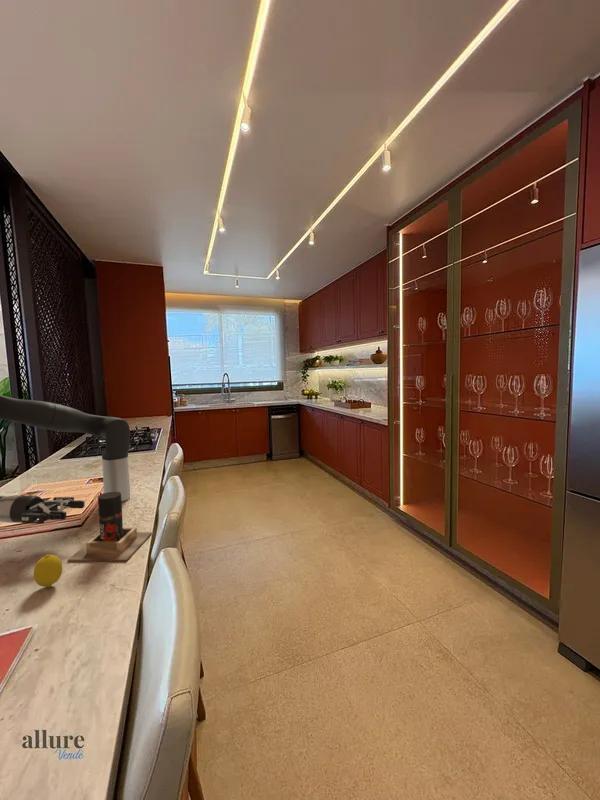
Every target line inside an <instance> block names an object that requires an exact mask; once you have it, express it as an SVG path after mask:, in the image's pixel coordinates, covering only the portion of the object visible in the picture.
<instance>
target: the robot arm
mask: <svg viewBox="0 0 600 800" xmlns="http://www.w3.org/2000/svg"><path fill="white" fill-rule="evenodd" d="M0 420H6V421H11V422H15V423H18V424H23V425H26V426H29V427H34V428H35V427H36V428H38V429H43V430H49V431H54V432H55V431H56V432H65V433H84V434H88V435H91V436H95V437H98V438H101V439H104V440H105V449H103V451H102V452H101V462H102V465H101V466H102V483H103V494H104V493H108V492H120V493H121V502H126V501H127V500H129V499H130V498H131V485H130V484H131V483H130V465H129V451H130V448H131V427H130V425H129V423H128V421H127V420H125V419H123V418H120V417H116V416H115V417H114V416H102V415H97V414H96V415H95V414H89V413H85V412H84V411H81V410H79V409H76V408H73V407H70V406H67V405H63V404H59V403H54V402H50V401H42V400H36V399H35V400H33V399H23V398H21V399H20V398H14V397H9V396H5V395H1V394H0ZM85 506H86V505H85V500H76V499H75V497H74V496H56V497H53V498H52V500H51V499H49V500H43V499H42V498H41V497H40V496H39V495H6V496H3V495H2V496H1V495H0V522H1V523H7V524H8V523H21V524H32V525H33V524H34V525H35V524H36V525H37V524H38V525H39V524H40V525H42V524H44V523H45V522H50V521H53V520H54V521H59V520H60V521H64V520H66V519H67V511H65V510H68V509H83V508H85Z"/></svg>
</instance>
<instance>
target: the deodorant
mask: <svg viewBox="0 0 600 800" xmlns="http://www.w3.org/2000/svg"><path fill="white" fill-rule="evenodd" d="M97 499H98V500H97V503H98V508H97V509H98V523H99V525H98V526H99V532H100V541H120V540H121V539H122V538H123V528H124V525H123V509H122V508H123V505H122V504H123V503H122V502H123V501H122V502H121V493H120V492H108V493H104V492H103V493H101V494H99V495H98V496H97Z"/></svg>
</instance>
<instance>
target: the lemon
mask: <svg viewBox="0 0 600 800" xmlns="http://www.w3.org/2000/svg"><path fill="white" fill-rule="evenodd" d="M62 573H63V564H62V561H61V559H60V558H59V556H57V555H54V554H49V553H48V554H45V555H44V556H42V557H41V558H40V559H38V561H37V562H36V564H35V565H34V569H33V579H34V581H35V583H36V584H37V585H38V586H40V587H46V588H50V587H52V585H54V584H55V583H57V582H58V581H59V580H60V578H61V577H62Z"/></svg>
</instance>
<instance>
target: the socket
mask: <svg viewBox="0 0 600 800" xmlns="http://www.w3.org/2000/svg"><path fill="white" fill-rule="evenodd" d="M152 535H153V533H152V532H151V531H149V532H146V531H145V532H144V531H141V532H140V531H139V532H138V529H137V527H123V538H122V539H121V540H120V541H100V531H99V532H97V534H96V535H94V536H92V538H90V540H88V541H87V542H86V543H85V545H83V547H81V548H80V549H78V550H77V551H76V552H74V554H73V555H72V556H70V557H69V558H67V562H68V563H69V562H71V563H73V562H74V563H76V562H77V563H79V562H81V563H82V562H83V563H85V562H86V563H88V562H89V563H90V562H91V563H92V562H93V563H94V562H95V563H105V562H107V563H110V562H111V563H117V562H118V563H124V562H125V563H127V562H128V560H130V559H131V557H132V556H134V554H135V553H136V552H137V551H138V550H139V549H140V548H141V547H142V545H144V543H145V542H146V541H148V539H150V537H151V536H152Z"/></svg>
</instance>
